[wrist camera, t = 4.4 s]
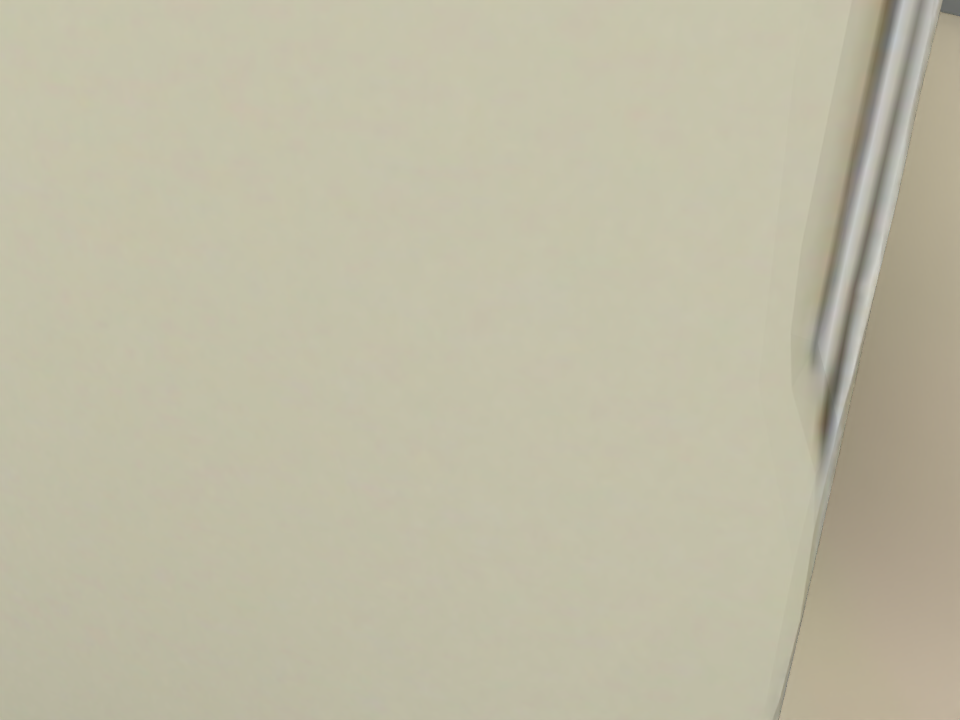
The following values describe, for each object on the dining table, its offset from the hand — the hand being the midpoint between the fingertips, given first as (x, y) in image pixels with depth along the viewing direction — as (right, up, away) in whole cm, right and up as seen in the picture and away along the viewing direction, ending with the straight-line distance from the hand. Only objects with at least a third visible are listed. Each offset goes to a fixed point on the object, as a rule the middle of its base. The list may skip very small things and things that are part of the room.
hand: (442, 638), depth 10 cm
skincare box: (+3, +6, +5) cm, 8 cm away
